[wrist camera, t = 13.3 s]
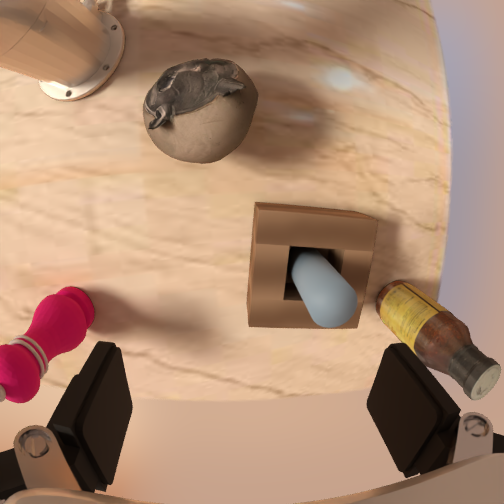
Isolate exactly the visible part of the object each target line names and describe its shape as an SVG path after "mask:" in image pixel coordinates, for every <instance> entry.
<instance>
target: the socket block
mask: <svg viewBox="0 0 504 504" xmlns="http://www.w3.org/2000/svg"><path fill="white" fill-rule="evenodd" d="M377 226H378V221H377V220H375V219H373V218H370V217H368V216H366V215H363V214H361V213H359V212H355V211H346V210H337V209H327V208H317V207H307V206H296V205H284V204H272V203H260V202H255V206H254V219H253V231H252V243H251V255H250V268H249V280H248V292H247V312H248V324H249V327H267V328H308V329H350V328H357V327H358V323H359V319H360V315H361V310H362V306H363V301H364V297H365V292H366V287H367V283H368V278H369V272H370V267H371V262H372V256H373V251H374V245H375V239H376V232H377ZM293 246H299V247H314V248H316V249H317V250H318V251H319V252H320V254H321V255H322V256H323V257H324V258H325V259H326V260H327V261H328V262H329V263H330V264H331V265H332V266H333V267H334V268H335V270H336V271H337V272H338V273H339V274H340V275H341V276H342V277H343V278H344V279H345V280H346V281H347V282H348V284H349V285H350V286H351V287H352V288H353V289H354V291H355V292H356V295H357V308H356V310H355V312H354V314H353V316H352V317H351V318H350V319H349V320H348V321H347V322H346V323H344V324H342V325H340V326H338V327H333V328H326V327H322V326H320V325H318V324H316V323H315V322H314V321H313V319H312V317H311V315H310V313H309V311H308V309H307V307H306V305H305V303H304V301H303V299H302V297H301V295H300V293H299V291H298V289H297V287H296V285H295V283H294V281H293V279H292V277H291V275H290V273H289V271H288V269H287V264H288V256H289V250H290V249H291V248H292V247H293Z"/></svg>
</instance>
